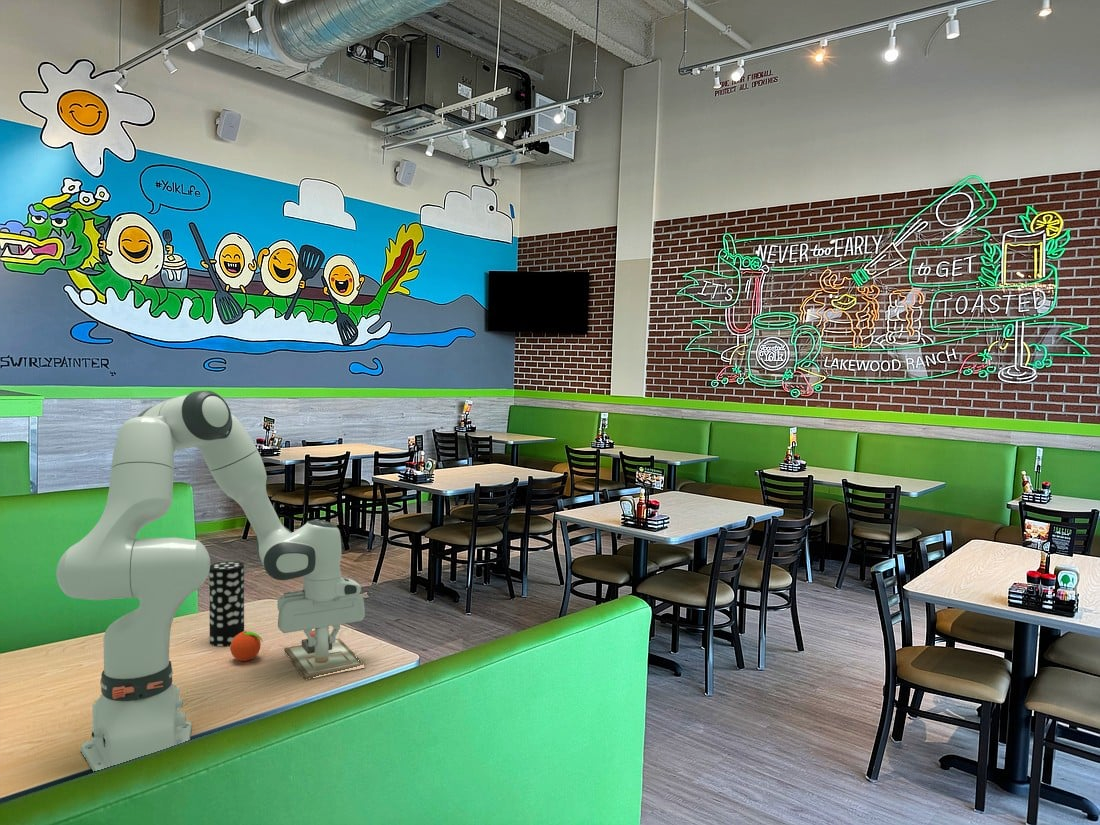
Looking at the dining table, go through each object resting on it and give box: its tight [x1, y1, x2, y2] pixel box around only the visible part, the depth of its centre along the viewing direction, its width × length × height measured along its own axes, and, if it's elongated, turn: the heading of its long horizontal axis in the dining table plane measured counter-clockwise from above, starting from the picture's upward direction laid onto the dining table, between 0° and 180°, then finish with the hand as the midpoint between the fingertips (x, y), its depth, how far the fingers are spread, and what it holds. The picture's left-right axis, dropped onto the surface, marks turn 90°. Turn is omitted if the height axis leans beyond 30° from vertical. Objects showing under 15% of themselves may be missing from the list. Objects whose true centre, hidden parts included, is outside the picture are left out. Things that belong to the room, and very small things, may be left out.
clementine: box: [229, 630, 264, 662], centre depth 187 cm, size 8×7×7 cm
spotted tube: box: [208, 560, 245, 647], centre depth 199 cm, size 8×8×20 cm
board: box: [283, 637, 364, 680], centre depth 188 cm, size 20×14×3 cm
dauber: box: [314, 626, 330, 663], centre depth 185 cm, size 3×3×11 cm
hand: (322, 644), depth 185 cm, fingers closed on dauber, 3 cm apart
